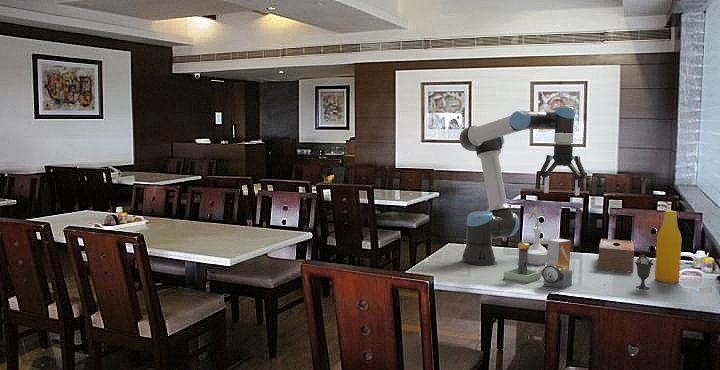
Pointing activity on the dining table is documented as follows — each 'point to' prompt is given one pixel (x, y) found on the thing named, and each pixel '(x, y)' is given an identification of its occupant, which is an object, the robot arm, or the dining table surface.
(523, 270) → the orange capped bottle
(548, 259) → the small box
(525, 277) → the tray
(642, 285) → the sundae
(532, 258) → the ramekin
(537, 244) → the flower in vase
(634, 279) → the dining table surface
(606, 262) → the tissue box cover
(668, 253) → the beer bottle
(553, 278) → the tensioner block
